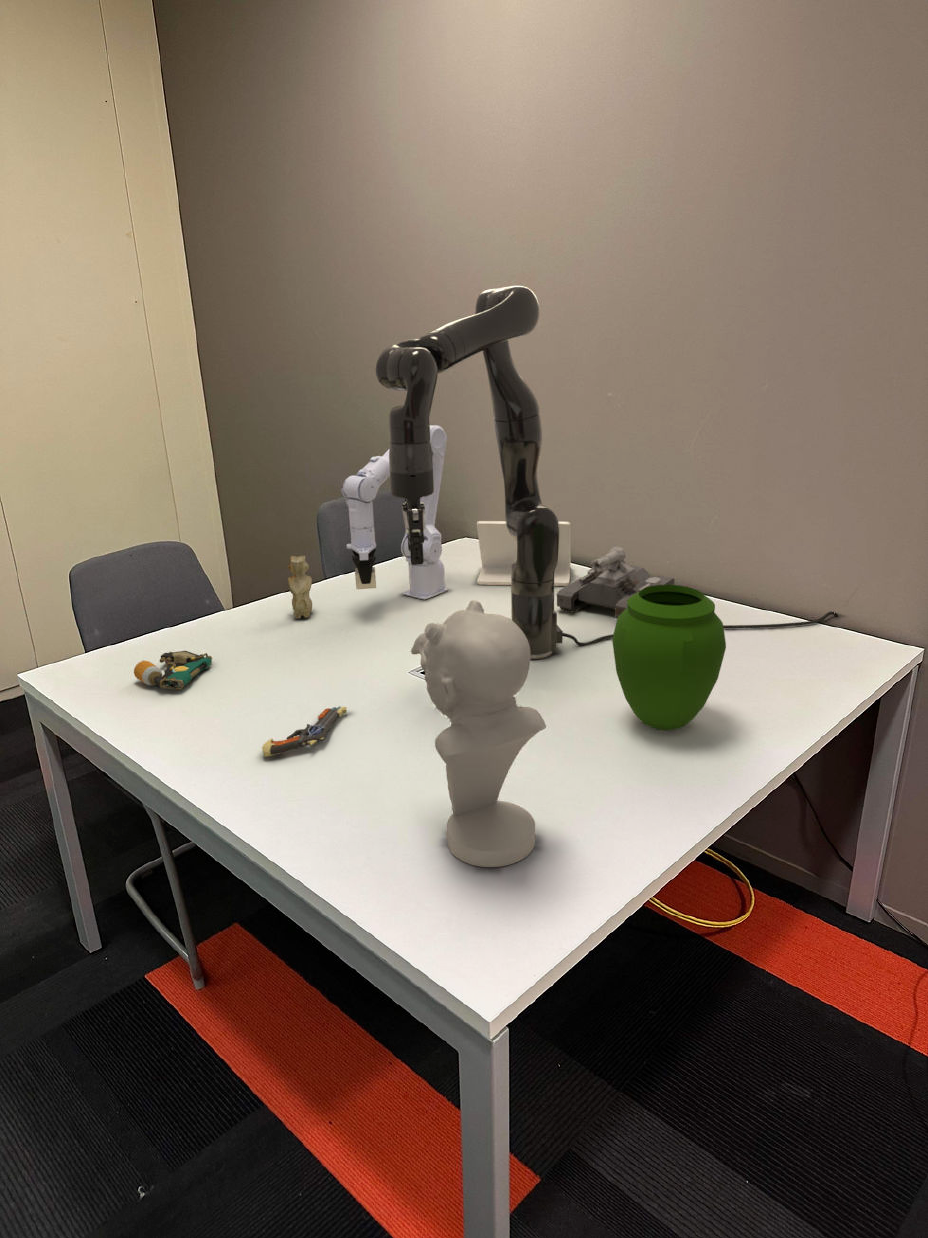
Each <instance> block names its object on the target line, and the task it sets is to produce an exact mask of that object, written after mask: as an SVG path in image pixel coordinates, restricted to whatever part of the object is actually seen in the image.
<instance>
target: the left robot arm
mask: <svg viewBox="0 0 928 1238" xmlns="http://www.w3.org/2000/svg"><path fill="white" fill-rule="evenodd" d="M447 441H448V435H447V434H446V432H445V430H444V429H443V427H442V426H440V425H436V424H434V425H431V424H430V442H431V449H432V457H433V482H434V492H433V493H432V494H431V495H429V496H426V497H421V499H420V503H424V506H425V516H424V519H425V531H424V538H425V541H424V543H423V561H424V562H423V564H419V565H412V564H411V556H410V551H409V549H408V535H407V532H406V531H405V533H404V536H403V538H402V541H401V544H400V551H401V554H402V556H403V557H404V558H405V561H406V562H408V582H409V583H408V584H409V589H408V590H406V591H404V592H402V595H404V596H407V597H412V598H415V599H420V600H423V601H425V600H428V599H430V598H433V597H435V596H438V595H440V594H442V593H445V592H447V591H449V590H448V588H446V575H445V574H446V572H445V566H444V563H443V561H442V560H441V556H442V552H443V545H442V536H443V535H442V534H441V532H440V531H439V530H438V528H436V526H435V525H436V518H437V511H438V505H439V497H440V490H441V483H442V477H443V470H444V465H445V464H444V463H445V455H446V448H447ZM389 478H390V466H389V449H388V450H387V451H386V452H385V453H384V454H383V455H382V456H381V455H376V456H372V457H371V458H370V459H369V461H368V462H367V464H365V465H364V467H362V468H361V469H359V470H358V472H357V473H356V474H355V475H350V476H348V477H347V478H346V479H345V480H344V481H343V485H342V488H341V494H342V496H343V497H344V499H345V501H346V503H345V504H346V506H347V507H348V519H349V530H350V542H351V543H347V544H346V549H348V550H350V549H351V550H352V554H353V555H352V556H351V559H352V562H353V563H354V565H355V567H356V568H357V569H358V572H359V576H360V580H361V583H362V584H370V583H371V576H372V568H373V567H374V564H375V562H376V560H377V555H375V553H376V548H377V543H376V533H375V519H374V504H373V501H374V500H375V499H376V497H377V494H378V491H379V489H380V487H381V486H382V485H383V484H384V482H385V481H387V480H388V479H389Z"/></svg>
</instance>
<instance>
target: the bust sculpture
mask: <svg viewBox="0 0 928 1238" xmlns="http://www.w3.org/2000/svg"><path fill="white" fill-rule="evenodd" d="M530 653H531V652H530V646H529V643H528V640H527V638H526V636H525V634H524V633H523V632H522V630H521V629H520V628H519V627H518V626H517V625H516V624H515V623H514V622H513V621H512V620H511V618H508V617H507V616H504V615H503V614H502V615H501V614H496V613H485V609H484V607H483V605H482V603H481V602H480V601H478V600H473V599H472V600H470V601H469V603H468V605H467V607H466V609H460V610H457V611H455V612H453V613H451V615H449V616H448V617H447V618H446V619H445V620H444V622H442V624H441V623H435V622H430V623H428V624H427V625H426V626H425V628H424V632H423V633H421V634H419V635H418V636H417V637H416V638H415V640H414V642H413V645H412V647H411V649H410V654H412V655H420V667H421V669H422V670H423V672H424V681H425V682H426V690H427V693H428V696H429V698H430V701H431V702H432V704H434V706H435V708H436V710H438V711H439V712H440V713H441V714H442V716H446V717H447V718H448V719H449V720H450V726H448V727H446V728H445V729H443V730H442V731H441V732H440V733H439V734H438V735H436V738H435V741H434V748H435V749H436V752H437V753H438V755H439V757H440V758H441V760H442V761H443V762H444V763H445V771H446V781H447V790H448V796H449V800H450V803H451V810H452V813H451V814H450V815H449V817H448V819H447V822H446V844H447V847H448V849H449V851H450V852H451V854H452V855H453V856H454V857H456V858H457V859H459V860H460V861H462V862H463V863H466V864H469V865H471V866H476V867H483V868H498V867H505V866H509V865H512V864H517V862H520V861H521V860H523V859H525V858H527V856H528V855H530V854H531V852H532V851H533V849H535V848H534V847H535V845H536V822H535V821H536V820H535V819H534V817H533V816H532V814H531V813H530V812H529V811H528V810H526V809H525V808H524V807H522V806H520V805H517V804H515V803H513V802H509V801H504V800H499V796H500V793H501V790H502V788H503V785H504V783H505V780H506V778H507V776H508V773H509V771H510V769H511V768H512V765H513V763H514V761H515V760H516V759H517V756H518V755H519V753H520V752H521V750H522V749H523V748H524V747H525V745H526V744H527V743H528V742H529V741H530V740H531V739H532V738H533V737H535V735H537V734H538V733H539V732H541V731H544V730H545V729H546V728H547V725H546V723H545V720H544V718H543V717H542V714H541V713H540V712H539V711H538V710H537V709H535V708H533V707H530V706H518V705H517V701H516V699H517V698H516V696H515V695H516V694H517V693H519V691H521V689H522V688H523V686H524V684H525V683H526V680H527V678H528V675H529V669H530V666H531V659H530V656H531V655H530Z"/></svg>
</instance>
